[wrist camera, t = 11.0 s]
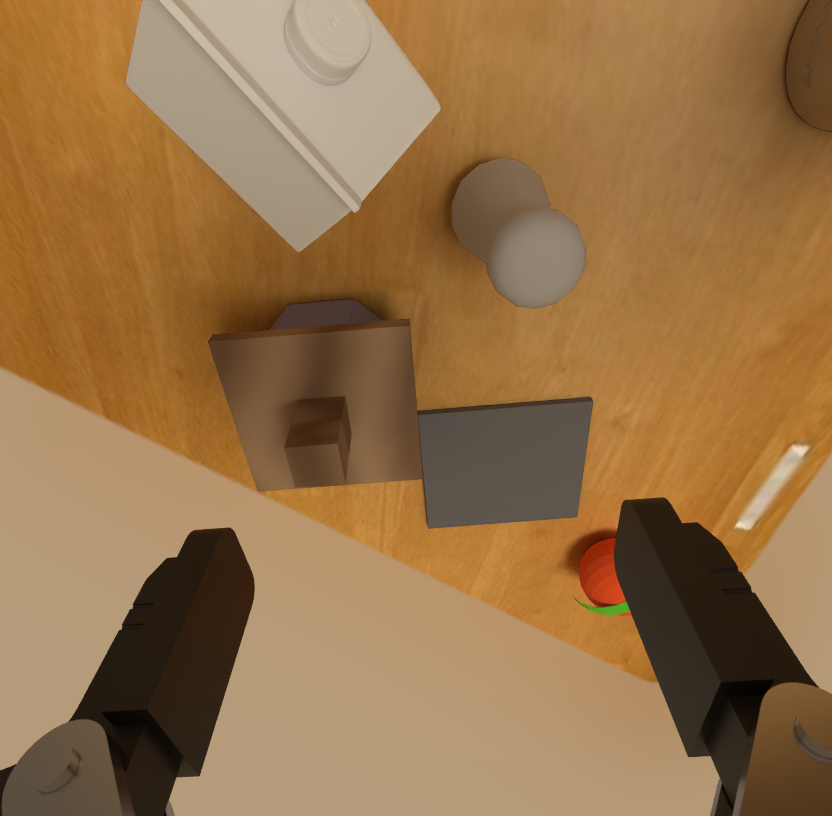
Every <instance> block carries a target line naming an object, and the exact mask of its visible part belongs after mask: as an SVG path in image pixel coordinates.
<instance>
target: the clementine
mask: <svg viewBox="0 0 832 816" xmlns="http://www.w3.org/2000/svg"><path fill="white" fill-rule="evenodd" d="M615 541H616V539H606V540H603V541H600V542H597V543H596V544H594V545H592V546H591V547H590V548H589V549H588V550H587V551H586V552H585V554H584V556H583V557H582V559H581V562H580V567H579V578H580V583H581V586H582V588H583V590H584V592H585V594H586V596H587V597H588V599H589V600H590V601H591V602H592V603H593V604H594V605H595V606H597V607H591V606H587V605H584V604H582V603H580V602H579V601H578V600H577V599H576V598H575V599H576V601H577V602H578V603H579V604H580V605H581V606H583V607H585V608H586V609H588V610H590V611H593V612H596V613H600V614H607V615H622V616H626V615H632V614H631V612H630V609H629V607H628V604H627V602H626V599H625V597H624V594H623V592H622V589H621V587H620V584H619V582H618V579H617V575H616V571H615V565H614V547H615Z"/></svg>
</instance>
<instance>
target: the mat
mask: <svg viewBox="0 0 832 816" xmlns="http://www.w3.org/2000/svg"><path fill="white" fill-rule="evenodd" d="M592 406H593V400H592V398H591V397H586V398H574V399H561V400H549V401H537V402H524V403H512V404H500V405H487V406H475V407H463V408H450V409H438V410H426V411H418V421H419V432H420V443H421V454H422V465H423V476H424V487H425V498H426V509H427V520H428V529H430V528H443V527H456V526H469V525H482V524H495V523H508V522H521V521H534V520H547V519H560V518H573V517H577V514H578V506H579V499H580V492H581V485H582V478H583V471H584V463H585V456H586V449H587V442H588V435H589V427H590V420H591V413H592Z"/></svg>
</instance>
